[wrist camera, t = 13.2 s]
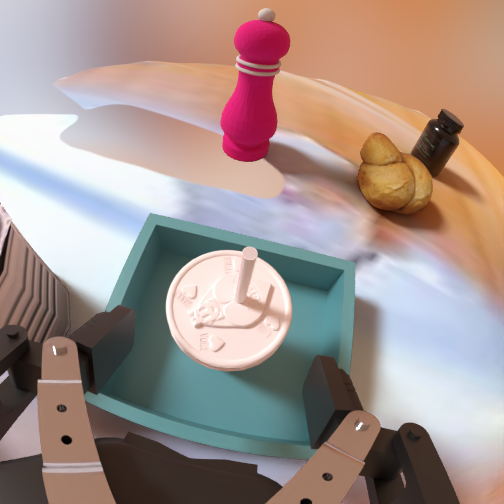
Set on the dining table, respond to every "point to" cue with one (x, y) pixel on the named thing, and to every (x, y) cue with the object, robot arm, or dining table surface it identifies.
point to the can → (29, 288)
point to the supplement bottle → (438, 142)
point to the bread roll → (393, 177)
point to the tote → (215, 381)
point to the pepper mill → (254, 88)
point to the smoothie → (228, 309)
